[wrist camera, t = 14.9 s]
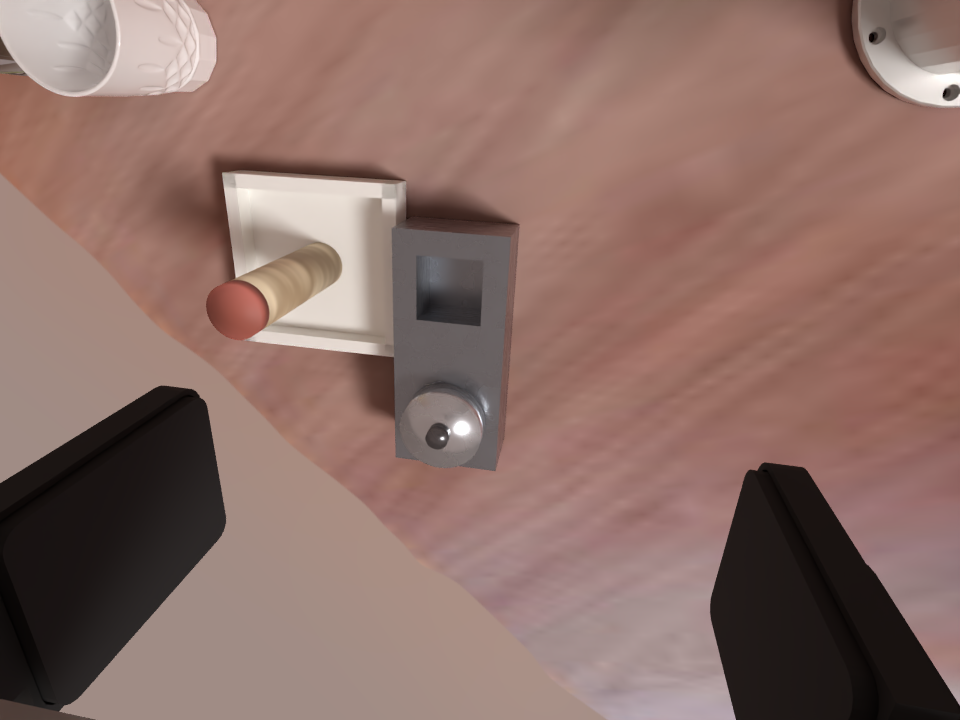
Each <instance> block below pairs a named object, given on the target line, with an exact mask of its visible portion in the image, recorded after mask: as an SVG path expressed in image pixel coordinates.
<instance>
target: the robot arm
mask: <svg viewBox="0 0 960 720" xmlns="http://www.w3.org/2000/svg"><path fill="white" fill-rule="evenodd" d="M852 28H853V37H854V42H855V45H856V48H857V51H858V55H859V58H860V60H861V62H862V64H863V65H864V67H865V68H866V70H867V72H868V73H869V75H870V77H871V78H872V79H873V80H874V81H875V82H876V83H877V84H878V85H880V86H881V87H882V88H883V89H884V90H885V91H886V92H888V93H890V94H891V95H893V96H895V97H897V98H898V99H900V100H902V101H905V102H908V103H912V104H915V105H918V106H922V107H933V108H960V0H853V6H852ZM870 33H873V34H874V40H873V41H872V42H869V34H870ZM944 89H946V91H947V92H946V95H945V97H942V94H943V91H944ZM225 524H226V515H225V510H224V503H223V497H222V492H221V485H220V479H219V474H218V467H217V462H216V456H215V450H214V444H213V438H212V432H211V426H210V420H209V415H208V409H207V405H206V403H205V401H204V400H203V399H201V398H200V396H199V395H198V394H197V392H196V391H194V390H192V389H186V388H178V387H170V386H159V387H156V388H154V389H153V390H151V391H150V392H148V393H146V394H145V395H143V396H141V397H140V398H138V399H136V400H135V401H133V402H132V403H130V404H128V405H127V406H125V407H124V408H122V409H120V410H119V411H117V412H116V413H114V414H112V415H111V416H109V417H107V418H106V419H104V420H102V421H101V422H99V423H97V424H96V425H94V426H93V427H91V428H89V429H88V430H86V431H85V432H83V433H81V434H80V435H78V436H76V437H75V438H73V439H72V440H70V441H68V442H67V443H65V444H64V445H62V446H60V447H59V448H57V449H55V450H54V451H52V452H50V453H49V454H47V455H46V456H44V457H43V458H41V459H39V460H37V461H36V462H34V463H33V464H31V465H29V466H28V467H26V468H25V469H23V470H22V471H20V472H18V473H16V474H15V475H13V476H11V477H10V478H8V479H7V480H5V481H3V482H2V483H0V720H94V719H90V718H85V717H80V716H76V715H71V714H66V713H62V712H59V711H60V710H61V708H62V707H63V706H64V705H68V704H70V703H72V702H74V701H75V700H76V699H78V698H79V697H80V696H81V695H82V693H83V692H84V691H85V690H86V689H87V688H88V687H89V686H90V684H91V683H92V682H93V681H94V680H95V679H96V678H97V677H98V675H99V674H100V673H101V672H102V671H103V670H104V668H105V667H106V666H107V665H108V664H109V663H110V662H111V661H112V660H113V658H114V657H115V656H116V655H117V654H118V653H119V651H120V650H121V649H122V648H123V647H124V646H125V645H126V643H128V641H129V640H130V639H131V638H132V637H133V636H134V635H135V633H136V632H137V631H138V630H139V629H140V628H141V627H142V625H143V624H144V623H145V622H146V621H147V620H148V619H149V618H150V616H151V615H152V614H153V613H154V612H155V611H156V610H157V609H158V607H159V606H160V605H161V604H162V603H163V602H164V601H165V599H166V598H167V597H168V596H169V595H170V594H171V592H173V590H174V589H175V588H176V587H177V586H178V585H179V584H180V583H181V581H182V580H183V579H184V578H185V577H186V576H187V575H188V573H189V572H190V571H191V570H192V569H193V568H194V567H195V565H196V564H197V563H198V562H199V561H200V560H201V559H202V558H203V556H204V555H205V554H206V553H207V552H208V551H209V550H210V549H211V547H212V546H213V545H214V544H215V543H216V542H217V540H218V539H219V538H220V537H221V535H222V533H223V531H224V528H225ZM710 614H711V621H712V625H713V629H714V633H715V637H716V641H717V645H718V649H719V653H720V657H721V661H722V665H723V670H724V674H725V678H726V682H727V686H728V690H729V694H730V698H731V702H732V706H733V710H734V714H735V718H736V720H960V705H959V704H958V702H957V701H956V699H955V698H954V696H953V694H952V693H951V691H950V690H949V688H948V687H947V685H946V683H945V682H944V680H943V679H942V677H941V676H940V674H939V672H938V671H937V669H936V668H935V666H934V665H933V663H932V662H931V660H930V658H929V657H928V655H927V654H926V652H925V651H924V649H923V647H922V646H921V644H920V643H919V641H918V640H917V638H916V636H915V635H914V633H913V632H912V630H911V629H910V627H909V626H908V624H907V622H906V621H905V619H904V618H903V616H902V615H901V613H900V611H899V610H898V608H897V607H896V605H895V604H894V602H893V600H892V599H891V597H890V596H889V594H888V593H887V591H886V590H885V588H884V586H883V585H882V583H881V582H880V580H879V579H878V577H877V575H876V574H875V573H874V572H873V570H872V569H871V568H870V567H869V566H868V565H866V563H865V561H864V560H863V558H862V557H861V555H860V554H859V552H858V550H857V549H856V547H855V546H854V544H853V542H852V541H851V539H850V538H849V536H848V535H847V533H846V531H845V530H844V528H843V527H842V525H841V523H840V522H839V520H838V519H837V517H836V516H835V514H834V512H833V511H832V509H831V508H830V506H829V504H828V503H827V501H826V500H825V498H824V497H823V495H822V493H821V492H820V490H819V489H818V487H817V485H816V484H815V482H814V481H813V479H812V478H811V476H810V474H809V473H808V471H807V470H806V469H805V468H802V467H797V466H789V465H781V464H773V463H765V462H764V463H763V464H761V466H760V467H759V469H758V471H756V470H749V471H748V472H747V473H746V475H745V478H744V481H743V485H742V488H741V492H740V496H739V499H738V503H737V506H736V510H735V514H734V517H733V521H732V524H731V528H730V531H729V535H728V539H727V542H726V546H725V549H724V553H723V557H722V560H721V564H720V567H719V571H718V574H717V578H716V582H715V585H714V589H713V592H712V596H711V603H710Z"/></svg>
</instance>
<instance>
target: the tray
mask: <svg viewBox="0 0 960 720" xmlns="http://www.w3.org/2000/svg"><path fill="white" fill-rule="evenodd" d="M222 177H223V184H224V192H225V199H226V207H227V214H228V222H229V229H230V237H231V245H232V252H233V260H234V267H235V275H236V278H237V277H239V276H242V275H244V274H246V273H248V272H250V271H253V270H255V269H257V268H259V267H261V266H264V265H266V264H268V263H270V262H272V261H275V260H277V259H279V258H281V257H283V256H286V255H288V254H290V253H292V252H294V251H296V250H299V249H301V248H303V247H305V246H307V245H310V244H312V243H316V242H320V243H325V244H327V245H329V246H331V247H332V248H333V249H335V250H336V252H337V253H338V254H339V256H340V258H341V261H342V273H341V276H340V278H339V279H338V280H337V281H336V282H335V283H333V284H332V285H330V286H329V287H327V288H326V289H324V290H323V291H321V292H320V293H318V294H317V295H315V296H314V297H312V298H310V299H309V300H307V301H306V302H304V303H303V304H301V305H300V306H298V307H297V308H295V309H294V310H292V311H291V312H289V313H287V314H286V315H284V316H283V317H281V318H280V319H278V320H277V321H275V322H274V323H272V324H271V325H269V326H268V327H266V328H264V329H263V330H261V331H260V332H258V333H257V334H255V335H254V336H252V337H251V338H248V339H245V340H246V341H255V342H263V343H272V344H281V345H290V346H299V347H308V348H317V349H326V350H335V351H343V352H352V353H361V354H370V355H379V356H388V357H394V334H393V280H392V227H394V226H396V225H398V224H400V223H401V222H403V221H405V220H406V181H399V180H384V179H369V178H354V177H339V176H324V175H309V174H293V173H278V172H263V171H248V170H238V171H231V172H224V173H222Z"/></svg>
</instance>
